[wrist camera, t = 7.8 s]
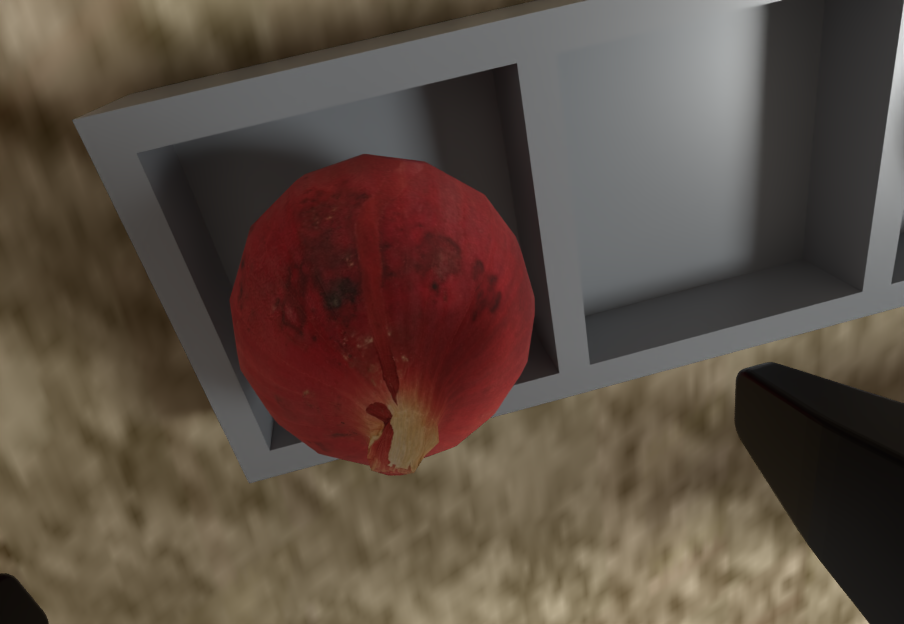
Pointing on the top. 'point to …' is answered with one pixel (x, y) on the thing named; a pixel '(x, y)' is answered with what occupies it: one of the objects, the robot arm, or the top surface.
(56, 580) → the top surface
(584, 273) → the egg tray
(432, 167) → the onion
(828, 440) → the robot arm
